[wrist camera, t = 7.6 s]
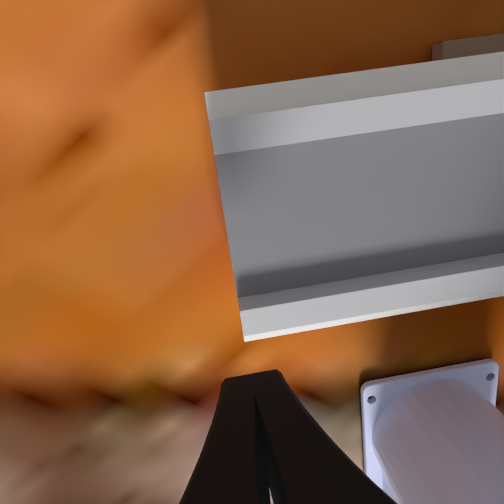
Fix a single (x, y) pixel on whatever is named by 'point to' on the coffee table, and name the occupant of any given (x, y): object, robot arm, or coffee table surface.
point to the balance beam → (364, 189)
